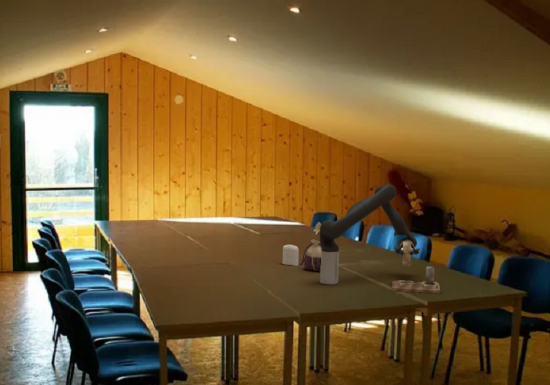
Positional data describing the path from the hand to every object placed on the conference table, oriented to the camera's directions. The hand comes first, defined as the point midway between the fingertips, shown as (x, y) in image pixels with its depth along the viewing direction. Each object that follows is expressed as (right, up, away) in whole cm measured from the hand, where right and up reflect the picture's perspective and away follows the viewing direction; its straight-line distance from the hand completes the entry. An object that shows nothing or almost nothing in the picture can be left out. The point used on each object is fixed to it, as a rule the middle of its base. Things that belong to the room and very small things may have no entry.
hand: (406, 253), depth 317 cm
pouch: (-44, -15, +45) cm, 65 cm away
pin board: (+5, -18, +3) cm, 19 cm away
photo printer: (-58, -13, +64) cm, 87 cm away
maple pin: (0, -6, +3) cm, 7 cm away
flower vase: (-36, -13, +74) cm, 83 cm away
